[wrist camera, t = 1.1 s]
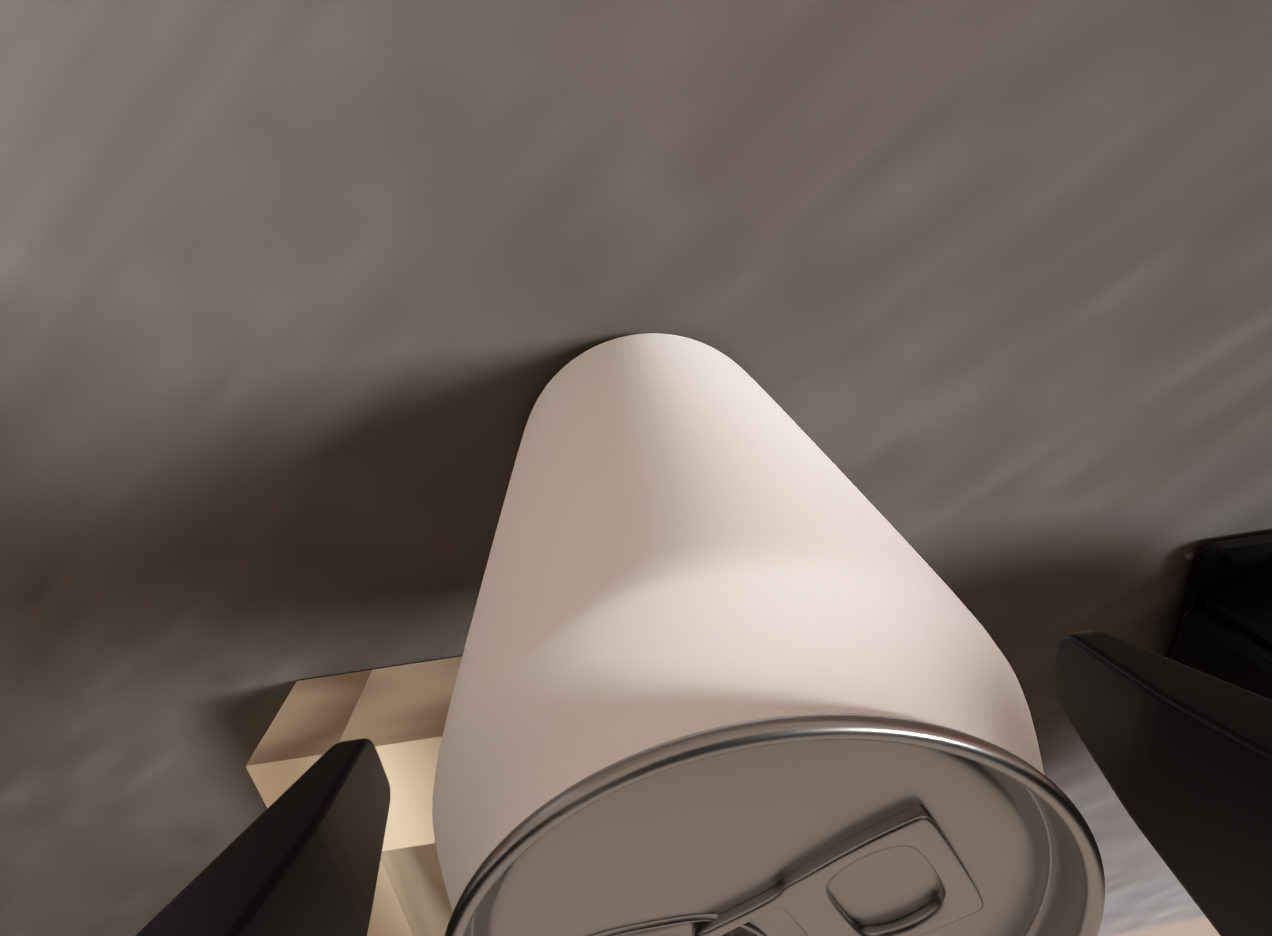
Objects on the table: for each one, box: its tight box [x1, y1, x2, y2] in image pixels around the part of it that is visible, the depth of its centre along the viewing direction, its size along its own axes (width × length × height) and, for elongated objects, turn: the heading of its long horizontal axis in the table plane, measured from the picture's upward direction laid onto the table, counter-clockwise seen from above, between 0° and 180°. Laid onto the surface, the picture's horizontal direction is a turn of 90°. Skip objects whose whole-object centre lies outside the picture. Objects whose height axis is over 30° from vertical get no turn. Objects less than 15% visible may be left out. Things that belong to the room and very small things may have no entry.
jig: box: [246, 656, 462, 936], centre depth 20 cm, size 14×13×3 cm
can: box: [432, 333, 1105, 936], centre depth 11 cm, size 6×6×12 cm
